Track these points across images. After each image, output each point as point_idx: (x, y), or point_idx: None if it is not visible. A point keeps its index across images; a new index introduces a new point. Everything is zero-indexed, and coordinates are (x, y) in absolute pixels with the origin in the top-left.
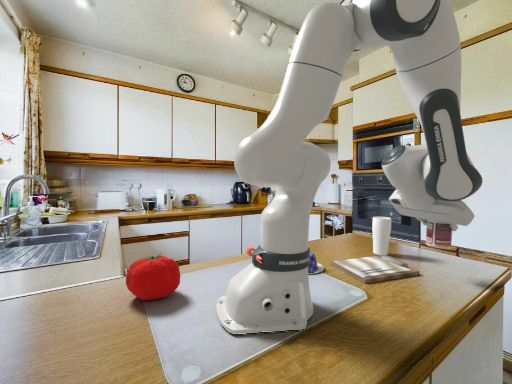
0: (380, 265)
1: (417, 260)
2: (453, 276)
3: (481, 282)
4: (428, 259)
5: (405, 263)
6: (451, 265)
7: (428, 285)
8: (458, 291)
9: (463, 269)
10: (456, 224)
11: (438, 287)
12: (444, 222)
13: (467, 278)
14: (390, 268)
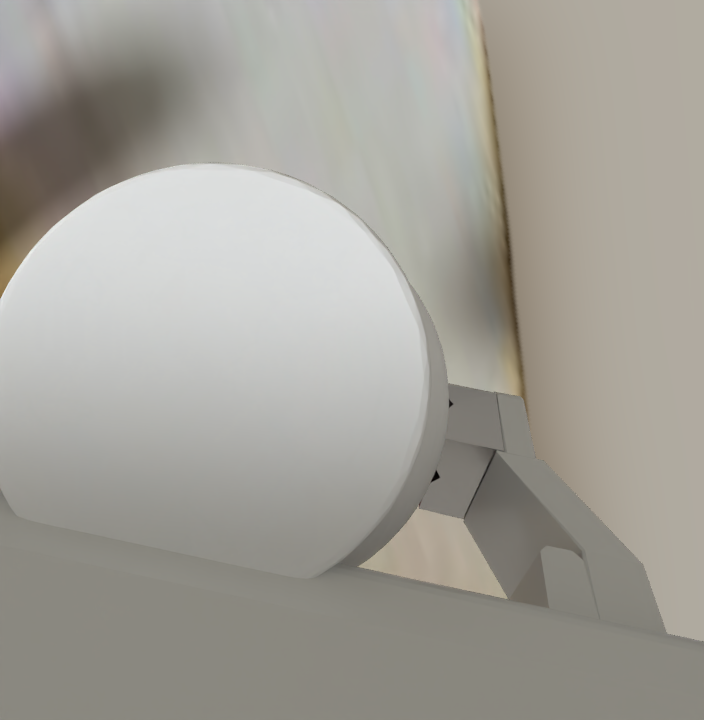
0: None
1: (105, 176)
2: None
3: (474, 251)
4: (138, 87)
5: None
6: (272, 85)
7: None
8: (463, 519)
9: (340, 102)
10: (529, 437)
11: (384, 565)
12: (390, 538)
13: (411, 252)
14: None
